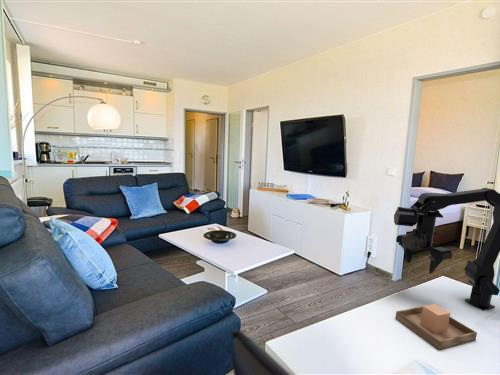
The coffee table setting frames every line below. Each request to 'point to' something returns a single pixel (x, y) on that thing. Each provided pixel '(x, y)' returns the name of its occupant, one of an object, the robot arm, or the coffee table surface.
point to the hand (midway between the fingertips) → (419, 267)
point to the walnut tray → (440, 341)
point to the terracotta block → (435, 318)
